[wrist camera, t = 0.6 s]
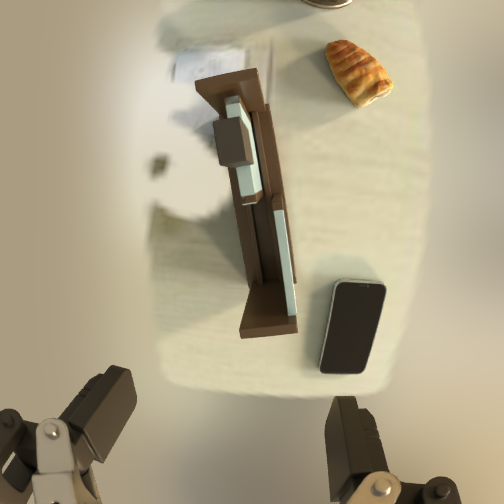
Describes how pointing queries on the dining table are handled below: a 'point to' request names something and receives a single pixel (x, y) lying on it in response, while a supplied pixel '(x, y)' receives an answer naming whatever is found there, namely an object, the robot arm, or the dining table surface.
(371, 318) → the smartphone
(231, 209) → the dining table surface
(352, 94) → the pastry
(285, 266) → the window frame
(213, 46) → the dining table surface
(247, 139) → the sash
